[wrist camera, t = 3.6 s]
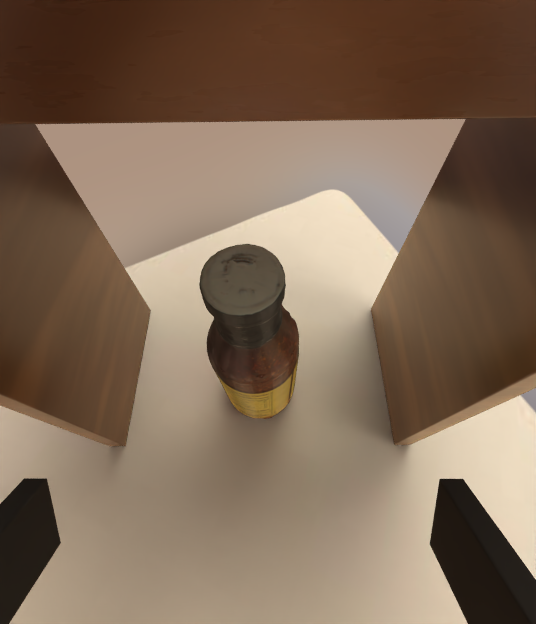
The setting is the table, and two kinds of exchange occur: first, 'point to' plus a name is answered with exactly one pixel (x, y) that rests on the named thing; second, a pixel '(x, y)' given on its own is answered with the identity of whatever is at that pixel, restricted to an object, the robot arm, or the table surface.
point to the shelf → (272, 107)
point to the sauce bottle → (250, 329)
